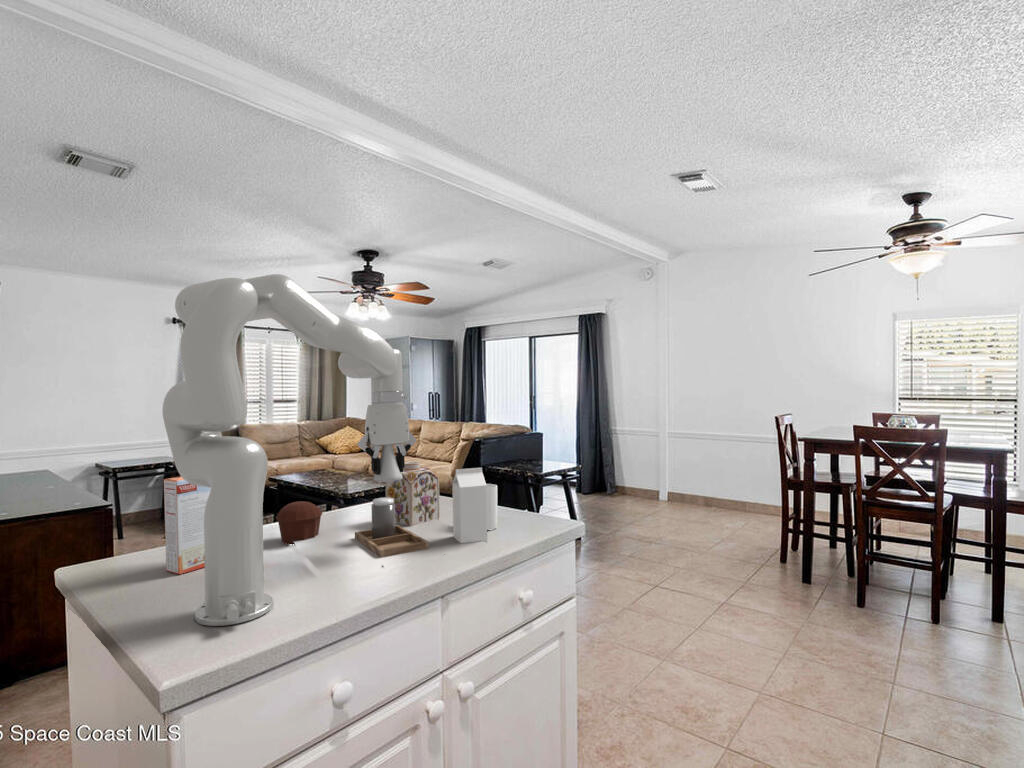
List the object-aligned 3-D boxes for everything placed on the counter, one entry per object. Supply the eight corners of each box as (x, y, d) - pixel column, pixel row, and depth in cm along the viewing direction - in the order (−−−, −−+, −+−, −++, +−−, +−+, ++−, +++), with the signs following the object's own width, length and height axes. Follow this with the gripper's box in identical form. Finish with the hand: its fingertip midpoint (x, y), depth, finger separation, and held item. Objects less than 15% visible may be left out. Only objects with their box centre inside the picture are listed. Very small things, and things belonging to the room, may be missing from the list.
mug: (503, 528, 154) (502, 485, 154) (485, 532, 149) (484, 489, 149) (479, 522, 161) (479, 481, 161) (462, 526, 156) (461, 484, 156)
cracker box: (224, 554, 133) (223, 469, 133) (239, 557, 130) (238, 470, 130) (163, 571, 121) (162, 477, 121) (178, 575, 118) (177, 479, 118)
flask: (396, 482, 129) (395, 440, 129) (367, 482, 130) (367, 441, 130) (407, 477, 136) (406, 438, 136) (380, 477, 138) (379, 438, 138)
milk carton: (487, 543, 138) (486, 469, 138) (460, 547, 136) (459, 471, 136) (478, 536, 145) (477, 465, 145) (453, 540, 142) (452, 467, 142)
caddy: (428, 552, 132) (428, 541, 132) (381, 561, 125) (381, 550, 125) (398, 534, 149) (398, 525, 149) (354, 541, 142) (354, 532, 142)
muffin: (329, 534, 150) (328, 498, 150) (313, 545, 139) (313, 506, 139) (286, 534, 151) (286, 498, 151) (267, 546, 139) (267, 507, 140)
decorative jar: (411, 530, 153) (410, 466, 153) (384, 524, 160) (383, 463, 160) (441, 521, 163) (440, 461, 163) (414, 516, 170) (413, 458, 170)
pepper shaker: (399, 539, 140) (398, 499, 140) (376, 543, 137) (375, 503, 137) (390, 534, 145) (390, 496, 145) (368, 538, 142) (368, 499, 142)
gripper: (412, 397, 141) (414, 467, 141) (347, 399, 132) (348, 474, 131) (425, 398, 135) (426, 471, 135) (358, 400, 125) (359, 478, 125)
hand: (388, 471), depth 133 cm, fingers closed on flask, 5 cm apart
